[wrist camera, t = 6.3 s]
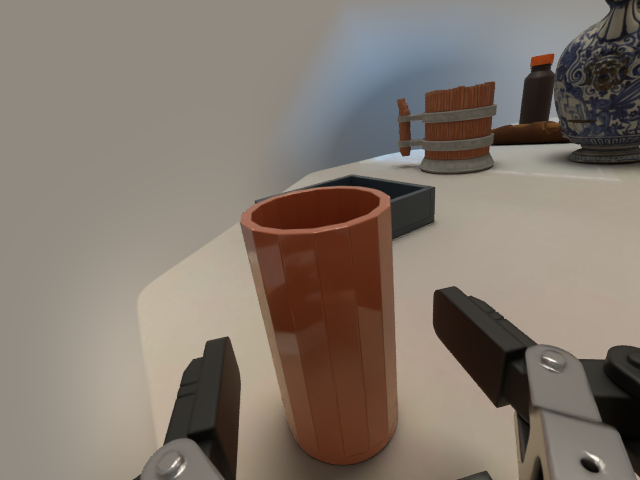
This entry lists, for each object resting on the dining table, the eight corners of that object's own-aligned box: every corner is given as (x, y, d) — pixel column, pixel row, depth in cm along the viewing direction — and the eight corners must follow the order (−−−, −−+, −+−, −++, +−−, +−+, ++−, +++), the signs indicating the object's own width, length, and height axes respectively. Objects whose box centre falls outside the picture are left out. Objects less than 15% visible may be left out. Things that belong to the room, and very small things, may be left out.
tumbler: (328, 495, 12) (282, 250, 8) (270, 401, 17) (221, 210, 13) (422, 415, 15) (424, 198, 11) (350, 352, 19) (332, 180, 15)
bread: (636, 137, 68) (642, 113, 66) (639, 141, 64) (646, 115, 62) (455, 144, 90) (455, 126, 88) (449, 147, 87) (450, 128, 85)
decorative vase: (566, 147, 68) (594, -9, 57) (694, 149, 53) (765, -59, 42) (520, 166, 57) (545, -21, 46) (666, 175, 43) (751, -94, 32)
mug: (486, 175, 54) (494, 81, 49) (385, 173, 66) (382, 97, 60) (499, 159, 64) (507, 80, 59) (410, 160, 76) (409, 93, 70)
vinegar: (522, 134, 92) (532, 58, 85) (549, 133, 87) (562, 52, 80) (513, 137, 89) (523, 58, 81) (541, 137, 84) (553, 52, 76)
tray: (323, 268, 30) (317, 228, 28) (260, 230, 42) (254, 200, 41) (434, 221, 38) (435, 187, 36) (354, 200, 50) (351, 174, 48)
